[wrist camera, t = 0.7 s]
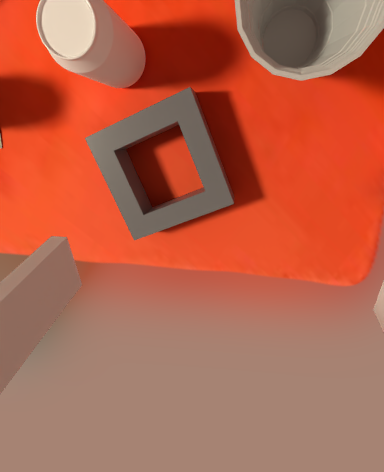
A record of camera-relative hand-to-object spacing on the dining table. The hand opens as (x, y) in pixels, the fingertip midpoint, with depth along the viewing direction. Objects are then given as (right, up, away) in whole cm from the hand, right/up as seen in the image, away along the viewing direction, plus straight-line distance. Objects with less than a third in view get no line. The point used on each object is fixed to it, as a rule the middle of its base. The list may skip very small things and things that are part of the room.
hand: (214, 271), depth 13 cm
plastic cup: (+9, +22, +19) cm, 30 cm away
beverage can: (-9, +22, +22) cm, 32 cm away
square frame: (-4, +10, +25) cm, 27 cm away
